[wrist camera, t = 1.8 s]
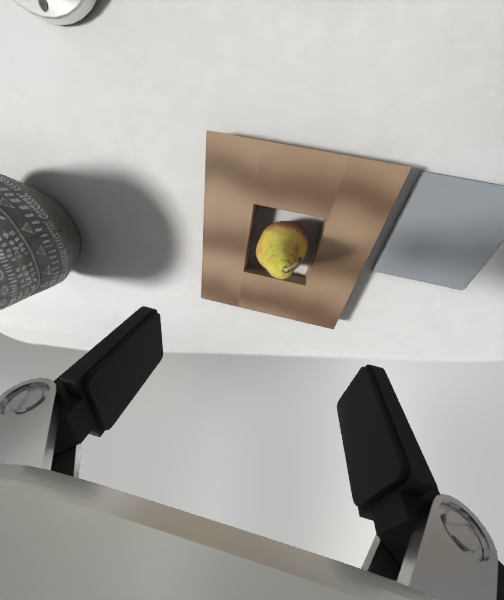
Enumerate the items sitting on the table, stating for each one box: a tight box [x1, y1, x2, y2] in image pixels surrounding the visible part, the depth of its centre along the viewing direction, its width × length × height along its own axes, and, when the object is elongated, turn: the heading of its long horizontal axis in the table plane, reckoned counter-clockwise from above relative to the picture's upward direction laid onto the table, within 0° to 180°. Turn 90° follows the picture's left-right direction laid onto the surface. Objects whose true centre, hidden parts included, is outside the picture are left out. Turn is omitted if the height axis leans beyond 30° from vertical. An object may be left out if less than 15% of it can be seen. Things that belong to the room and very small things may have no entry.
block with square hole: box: [201, 130, 412, 329], centre depth 24 cm, size 18×18×2 cm
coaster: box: [372, 172, 504, 290], centre depth 22 cm, size 10×10×1 cm
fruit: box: [256, 221, 309, 279], centre depth 20 cm, size 6×6×12 cm
